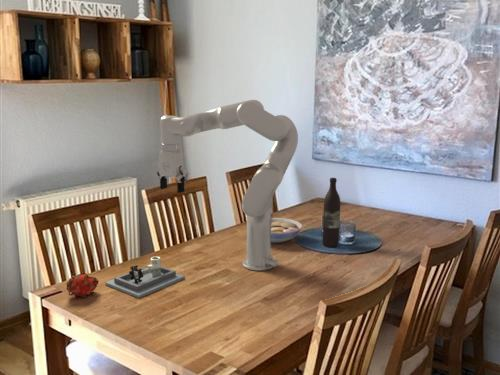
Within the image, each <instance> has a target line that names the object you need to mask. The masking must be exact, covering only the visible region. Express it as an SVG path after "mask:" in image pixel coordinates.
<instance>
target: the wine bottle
mask: <svg viewBox="0 0 500 375" xmlns="http://www.w3.org/2000/svg"><path fill="white" fill-rule="evenodd" d="M337 179H338V178H336V177H330V178H329V188H328V191H327V192H326V194H325V196H324V199H323V216H322V219H323V220H322V241H321V244H322V246H324V247H325V248H336V247H339V243H340V225H341V224H340V221H341V220H340V219H341V198H340V195H339V193H338V190H337V181H338V180H337Z"/></svg>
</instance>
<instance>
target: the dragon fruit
mask: <svg viewBox="0 0 500 375" xmlns="http://www.w3.org/2000/svg"><path fill="white" fill-rule="evenodd" d="M98 285H99V280H98V278H97V277H95V276H89V274H88V273H84V274H82V273H79V274H77V275H71V277H70V278H69V279H68V281H67V282H66V287H65V289H66V291H67V293H68V295H69V296H74V297H75V298H78V297H81V298H86V296H89V295H90V296H91V295H93V294H94V293H95V290H96V288H97V287H98Z"/></svg>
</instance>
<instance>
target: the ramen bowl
mask: <svg viewBox="0 0 500 375" xmlns="http://www.w3.org/2000/svg"><path fill="white" fill-rule="evenodd" d="M302 228H303V224H302V223H301V222H300V221H296V220H294V219H290V218H286V217H285V218H283V217H273V215H272V216H271V244H272V243H273V244H281V243H284V242H287V241H290V240H293V238H295V237H296V236H297V235H298V234H299V233H300V232H301V230H302Z"/></svg>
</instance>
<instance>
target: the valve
mask: <svg viewBox="0 0 500 375" xmlns="http://www.w3.org/2000/svg"><path fill="white" fill-rule="evenodd" d="M145 266H146V268H145V269H142V270H141V269H139V266H138V265H134V266H133V265H131V266H130V267H129V268H130V271H128V273H129V274H131V275H132V277H131V280H133V279H134V280H135V281H134V282H135V283H138V282H139V283H140V282H142V280H140V278H142V277H143V274H145V273H151V275H152V276H153V277H158V276H160V275H161V271H160V270H161V267H163V266H162V263H161V257H160V256H152V257H150V264H148V266H147V265H145ZM134 271H136V272H135V273H134ZM134 275H135V276H134ZM137 276H138V278H135V277H137ZM137 280H138V281H137Z"/></svg>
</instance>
